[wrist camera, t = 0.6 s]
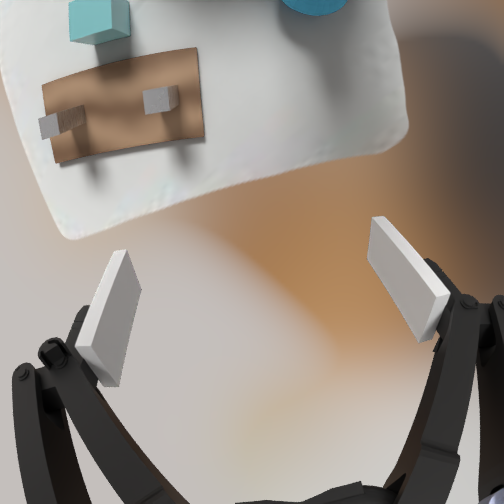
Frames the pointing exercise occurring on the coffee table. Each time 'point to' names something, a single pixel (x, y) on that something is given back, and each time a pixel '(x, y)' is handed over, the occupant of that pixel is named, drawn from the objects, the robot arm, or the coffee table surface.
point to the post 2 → (160, 99)
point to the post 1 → (61, 121)
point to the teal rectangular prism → (98, 20)
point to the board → (126, 104)
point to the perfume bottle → (315, 6)
